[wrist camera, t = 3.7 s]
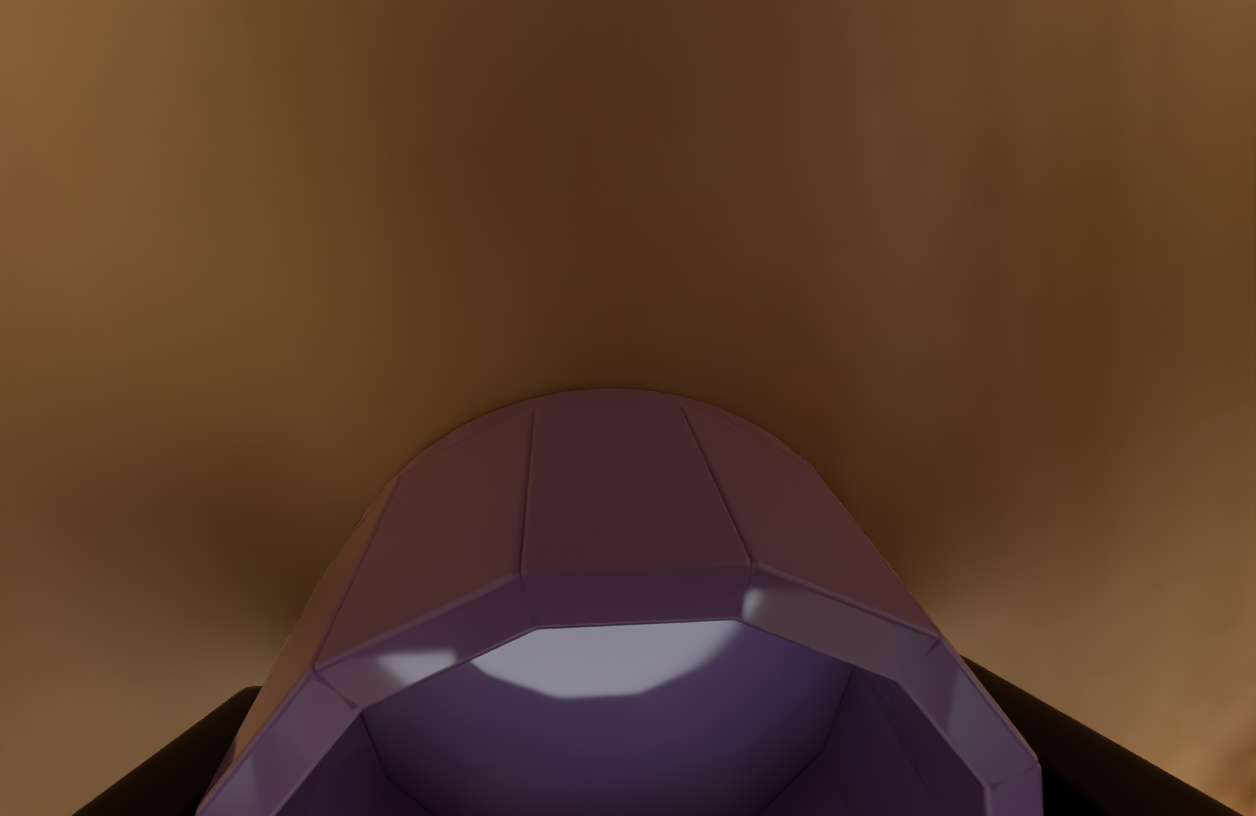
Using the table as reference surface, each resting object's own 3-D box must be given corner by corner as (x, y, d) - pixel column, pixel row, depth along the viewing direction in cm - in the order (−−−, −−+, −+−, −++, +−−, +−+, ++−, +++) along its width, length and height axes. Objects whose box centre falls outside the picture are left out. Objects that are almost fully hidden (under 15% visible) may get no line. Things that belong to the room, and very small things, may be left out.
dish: (847, 828, 10) (987, 1162, 7) (355, 863, 10) (249, 1241, 6) (904, 379, 8) (1138, 544, 5) (285, 393, 8) (74, 588, 4)
